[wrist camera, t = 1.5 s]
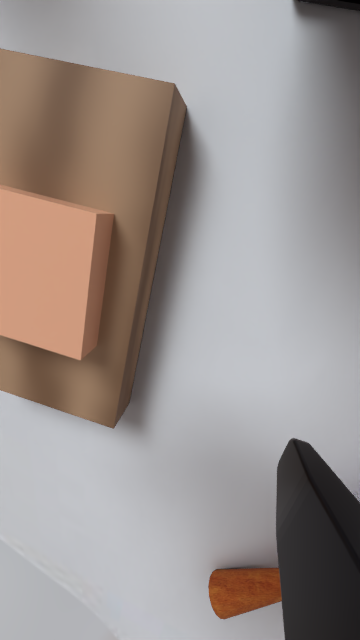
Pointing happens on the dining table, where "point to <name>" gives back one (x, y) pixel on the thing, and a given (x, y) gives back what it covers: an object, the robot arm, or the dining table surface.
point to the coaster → (52, 271)
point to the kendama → (243, 590)
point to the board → (95, 192)
